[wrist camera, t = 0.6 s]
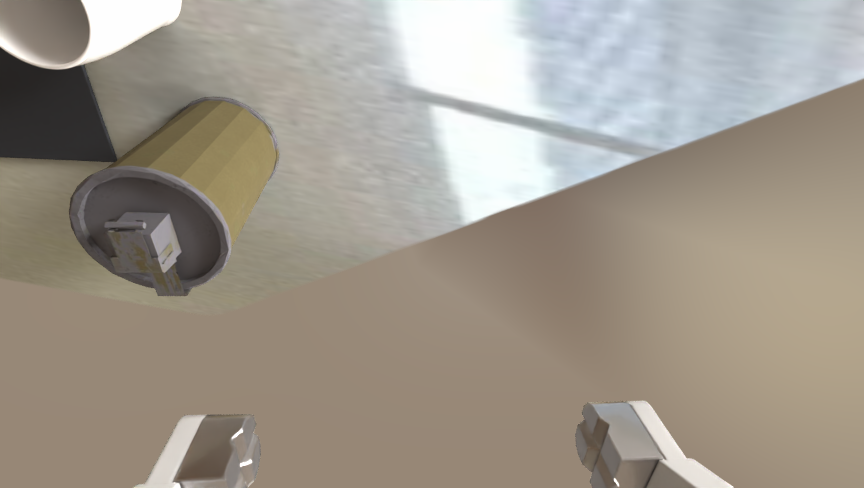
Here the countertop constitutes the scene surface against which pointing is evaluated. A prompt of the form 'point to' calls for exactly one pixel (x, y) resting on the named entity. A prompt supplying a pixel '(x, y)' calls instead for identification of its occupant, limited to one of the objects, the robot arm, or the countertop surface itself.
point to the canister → (177, 197)
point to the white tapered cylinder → (78, 28)
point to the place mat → (50, 114)
